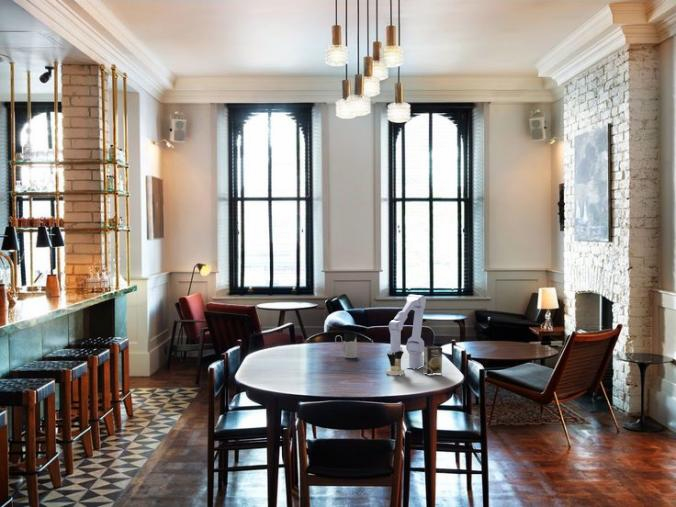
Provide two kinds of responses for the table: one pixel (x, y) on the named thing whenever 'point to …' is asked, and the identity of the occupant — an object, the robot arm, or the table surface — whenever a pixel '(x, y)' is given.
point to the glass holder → (349, 345)
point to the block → (396, 365)
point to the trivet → (394, 372)
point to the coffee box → (432, 359)
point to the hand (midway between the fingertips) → (395, 364)
